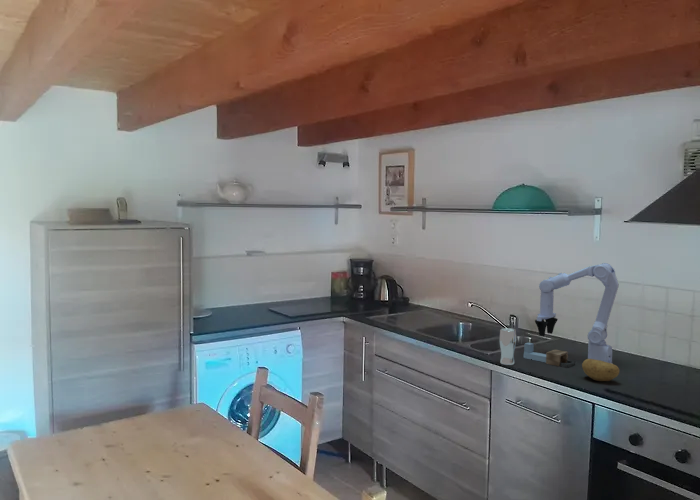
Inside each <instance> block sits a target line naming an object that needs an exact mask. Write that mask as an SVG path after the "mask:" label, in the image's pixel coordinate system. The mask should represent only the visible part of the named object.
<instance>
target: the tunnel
mask: <svg viewBox="0 0 700 500" xmlns="http://www.w3.org/2000/svg"><path fill="white" fill-rule="evenodd" d="M545 354H546V362H545V364H546V365H550V366H555V367H561V366H560V363H564V364H566V363H567V360H569V355H568V354H569V352H568V351H565V350H559V349H552V350H550V351H547V352H546V353H545Z"/></svg>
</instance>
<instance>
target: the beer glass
mask: <svg viewBox="0 0 700 500" xmlns="http://www.w3.org/2000/svg"><path fill="white" fill-rule="evenodd" d="M516 331H517V330H516V329H515V328H510V327H503V328H500V330H499V347H500V354H501V355H500V362H499V363H500V364H501V365H505V366H514V365H515V357H514V355H515V349H516V346H517V345H516V344H517V332H516Z"/></svg>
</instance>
